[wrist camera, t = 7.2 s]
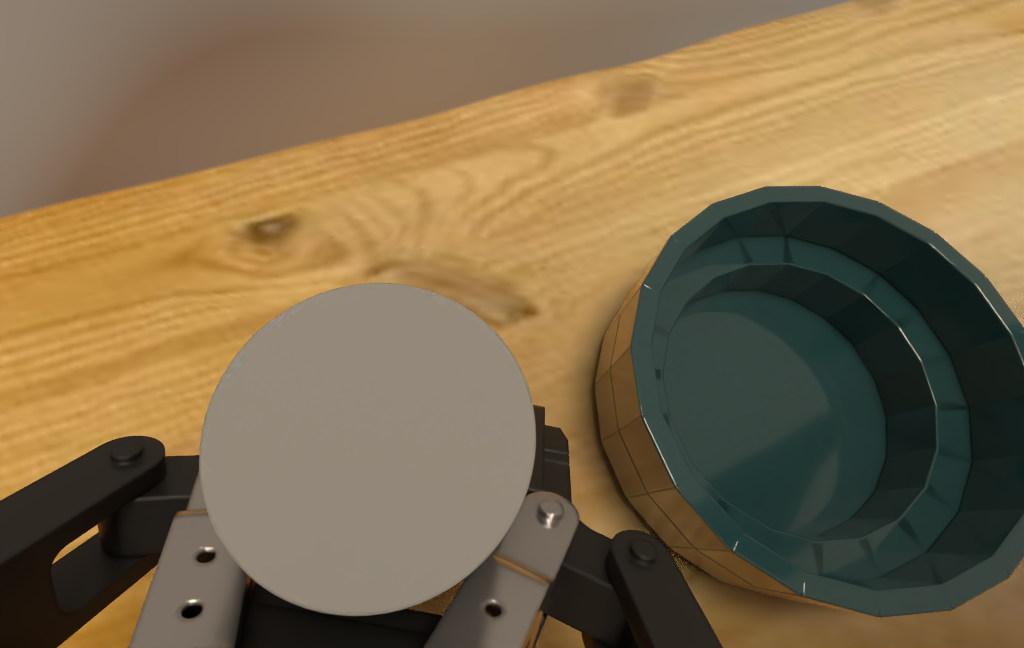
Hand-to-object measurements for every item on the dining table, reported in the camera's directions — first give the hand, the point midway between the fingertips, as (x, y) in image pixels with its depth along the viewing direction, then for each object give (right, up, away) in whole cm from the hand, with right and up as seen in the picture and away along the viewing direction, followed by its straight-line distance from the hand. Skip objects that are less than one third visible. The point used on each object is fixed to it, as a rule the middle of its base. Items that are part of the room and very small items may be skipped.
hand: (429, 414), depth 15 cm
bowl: (+13, -1, +8) cm, 15 cm away
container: (-1, -4, +6) cm, 8 cm away
